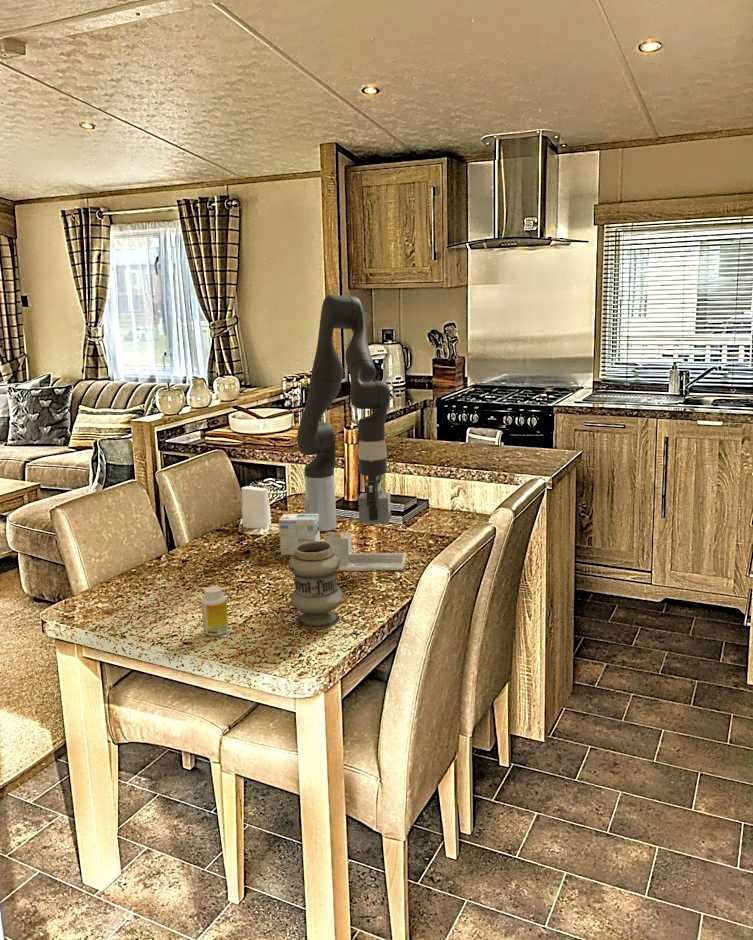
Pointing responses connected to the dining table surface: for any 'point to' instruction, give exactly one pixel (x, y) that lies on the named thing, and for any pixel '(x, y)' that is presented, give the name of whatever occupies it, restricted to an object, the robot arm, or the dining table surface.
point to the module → (382, 509)
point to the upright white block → (255, 507)
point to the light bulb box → (297, 531)
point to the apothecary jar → (315, 584)
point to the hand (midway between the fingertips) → (374, 516)
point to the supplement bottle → (214, 611)
